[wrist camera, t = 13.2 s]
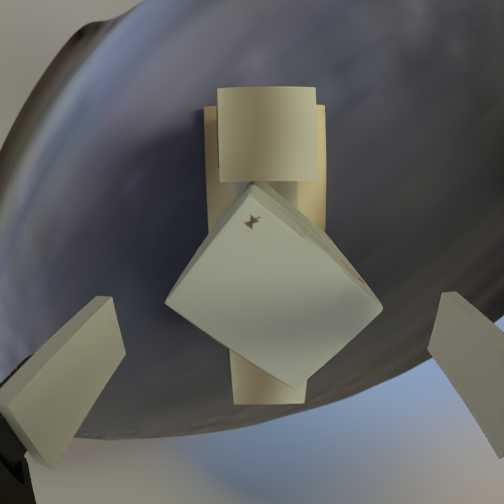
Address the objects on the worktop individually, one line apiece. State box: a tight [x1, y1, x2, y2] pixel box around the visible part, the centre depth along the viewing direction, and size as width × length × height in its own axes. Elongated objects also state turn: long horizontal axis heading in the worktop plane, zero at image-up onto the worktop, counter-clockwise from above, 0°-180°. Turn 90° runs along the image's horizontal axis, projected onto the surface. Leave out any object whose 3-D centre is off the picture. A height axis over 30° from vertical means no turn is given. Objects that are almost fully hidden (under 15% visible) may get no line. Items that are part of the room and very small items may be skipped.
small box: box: [165, 181, 383, 389], centre depth 19 cm, size 8×6×13 cm
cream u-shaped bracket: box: [204, 86, 326, 404], centre depth 21 cm, size 10×22×11 cm, turn 1°
